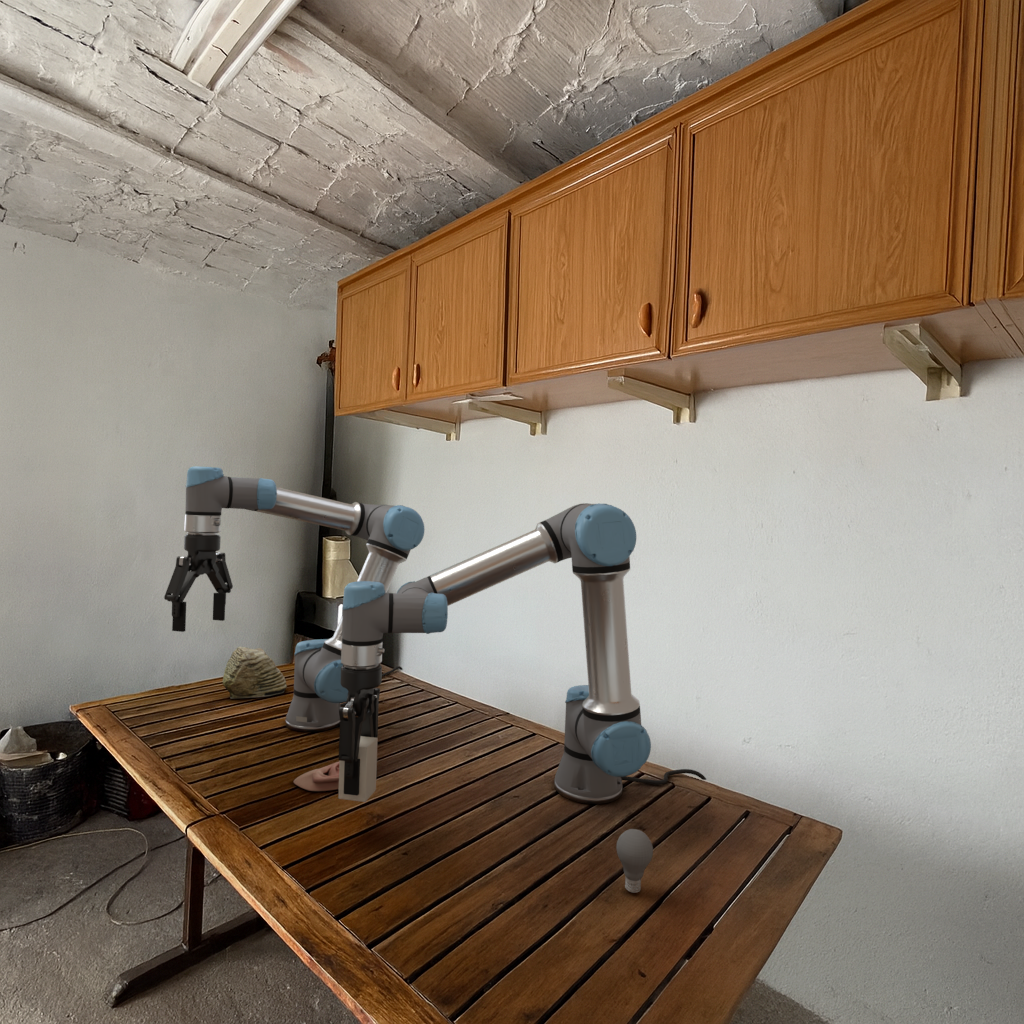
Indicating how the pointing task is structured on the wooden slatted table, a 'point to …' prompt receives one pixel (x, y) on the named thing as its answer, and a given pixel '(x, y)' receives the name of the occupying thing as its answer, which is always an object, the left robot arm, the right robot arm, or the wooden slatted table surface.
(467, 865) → the wooden slatted table surface
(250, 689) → the fossil
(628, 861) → the light bulb
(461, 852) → the wooden slatted table surface
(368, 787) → the block
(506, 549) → the right robot arm
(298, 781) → the anatomical model
